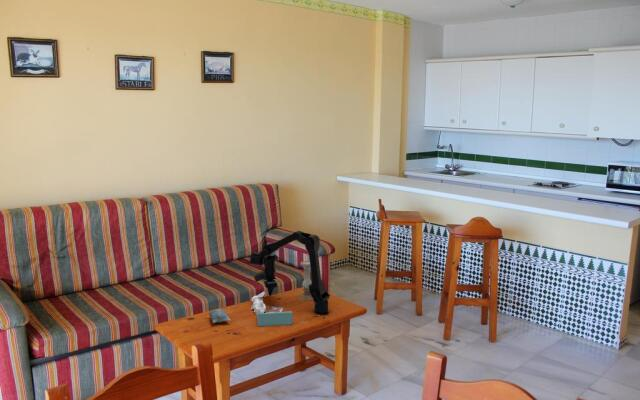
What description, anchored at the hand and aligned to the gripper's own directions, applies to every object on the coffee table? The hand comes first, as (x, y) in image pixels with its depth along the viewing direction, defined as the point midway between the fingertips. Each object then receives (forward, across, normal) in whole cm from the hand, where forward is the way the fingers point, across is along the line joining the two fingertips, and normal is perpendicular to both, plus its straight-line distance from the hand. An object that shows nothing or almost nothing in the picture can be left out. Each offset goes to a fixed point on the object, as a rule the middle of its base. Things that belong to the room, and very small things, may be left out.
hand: (269, 295), depth 294 cm
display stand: (+5, +24, 0) cm, 25 cm away
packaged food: (+6, +25, -24) cm, 35 cm away
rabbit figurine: (+5, +11, -6) cm, 13 cm away
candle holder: (+5, -6, +21) cm, 22 cm away
